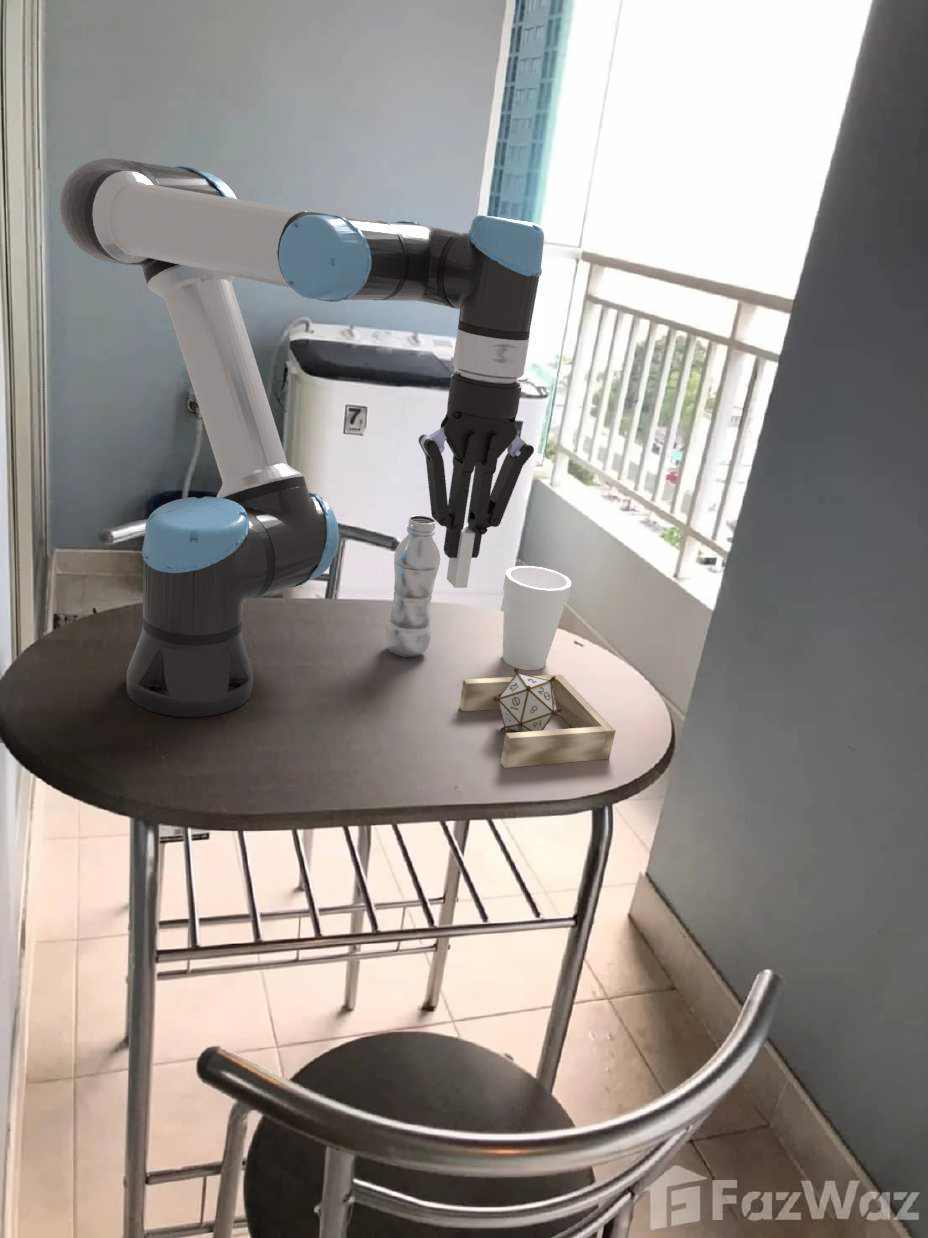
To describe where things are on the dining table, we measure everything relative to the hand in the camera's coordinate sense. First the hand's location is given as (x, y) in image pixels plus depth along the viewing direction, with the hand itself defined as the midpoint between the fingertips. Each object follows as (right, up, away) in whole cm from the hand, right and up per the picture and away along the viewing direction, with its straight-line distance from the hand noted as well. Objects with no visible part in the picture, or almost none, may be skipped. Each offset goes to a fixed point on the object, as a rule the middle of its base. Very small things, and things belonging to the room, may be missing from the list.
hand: (456, 583), depth 115 cm
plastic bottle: (-8, -9, +29) cm, 32 cm away
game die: (+8, -19, +12) cm, 24 cm away
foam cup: (+10, -10, +33) cm, 35 cm away
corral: (+9, -18, +12) cm, 24 cm away
